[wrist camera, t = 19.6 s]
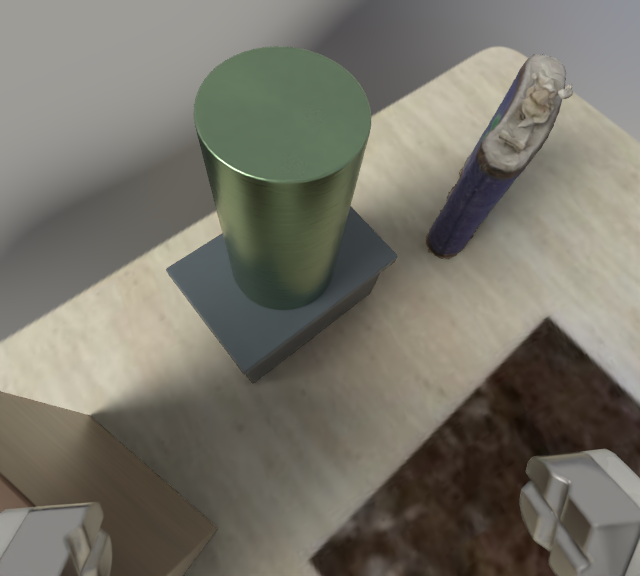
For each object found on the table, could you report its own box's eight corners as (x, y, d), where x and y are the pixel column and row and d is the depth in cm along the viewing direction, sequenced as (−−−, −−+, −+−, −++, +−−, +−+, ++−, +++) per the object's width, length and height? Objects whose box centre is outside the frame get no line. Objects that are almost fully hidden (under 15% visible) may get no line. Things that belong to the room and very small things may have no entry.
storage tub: (312, 222, 29) (319, 171, 24) (377, 294, 27) (398, 255, 22) (187, 306, 26) (165, 268, 21) (251, 392, 24) (243, 372, 19)
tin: (275, 202, 23) (271, 21, 13) (353, 256, 22) (404, 102, 13) (210, 270, 21) (153, 115, 12) (291, 331, 20) (300, 215, 11)
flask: (468, 153, 32) (553, 12, 22) (505, 171, 32) (608, 36, 22) (416, 248, 28) (489, 132, 19) (457, 269, 28) (553, 163, 18)
